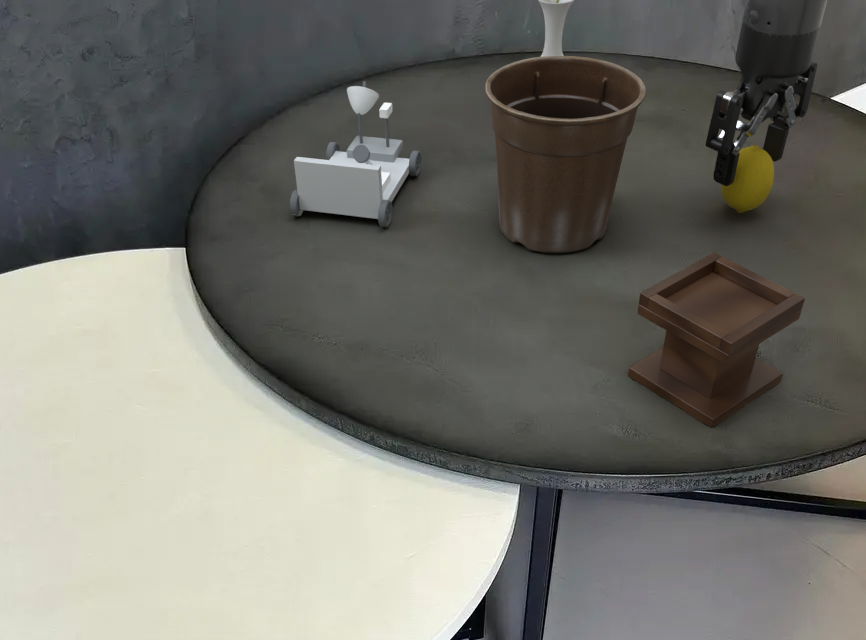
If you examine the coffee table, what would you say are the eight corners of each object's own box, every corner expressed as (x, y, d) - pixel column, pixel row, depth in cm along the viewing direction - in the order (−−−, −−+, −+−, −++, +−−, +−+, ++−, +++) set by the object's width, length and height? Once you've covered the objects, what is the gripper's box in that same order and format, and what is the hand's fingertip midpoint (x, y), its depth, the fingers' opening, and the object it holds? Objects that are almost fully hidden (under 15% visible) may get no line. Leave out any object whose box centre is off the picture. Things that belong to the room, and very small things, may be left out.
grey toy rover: (334, 73, 120) (426, 82, 118) (341, 151, 127) (427, 160, 125) (280, 139, 108) (380, 150, 106) (291, 220, 115) (385, 232, 113)
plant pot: (598, 184, 119) (613, 46, 107) (648, 253, 108) (670, 107, 96) (467, 202, 117) (468, 63, 105) (504, 274, 106) (510, 128, 94)
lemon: (706, 205, 115) (719, 139, 109) (749, 197, 116) (764, 130, 110) (730, 228, 111) (745, 161, 105) (774, 219, 112) (791, 152, 106)
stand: (780, 381, 92) (805, 297, 85) (711, 428, 88) (731, 343, 81) (696, 334, 98) (713, 251, 91) (627, 375, 93) (640, 292, 87)
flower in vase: (498, 91, 138) (504, -114, 120) (577, 82, 140) (594, -122, 122) (522, 131, 129) (532, -83, 111) (606, 122, 131) (629, -92, 113)
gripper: (769, 47, 93) (733, 204, 105) (857, 9, 99) (814, 162, 111) (706, 25, 97) (678, 179, 109) (794, -11, 103) (759, 139, 115)
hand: (747, 170), depth 110 cm, fingers open, 8 cm apart
